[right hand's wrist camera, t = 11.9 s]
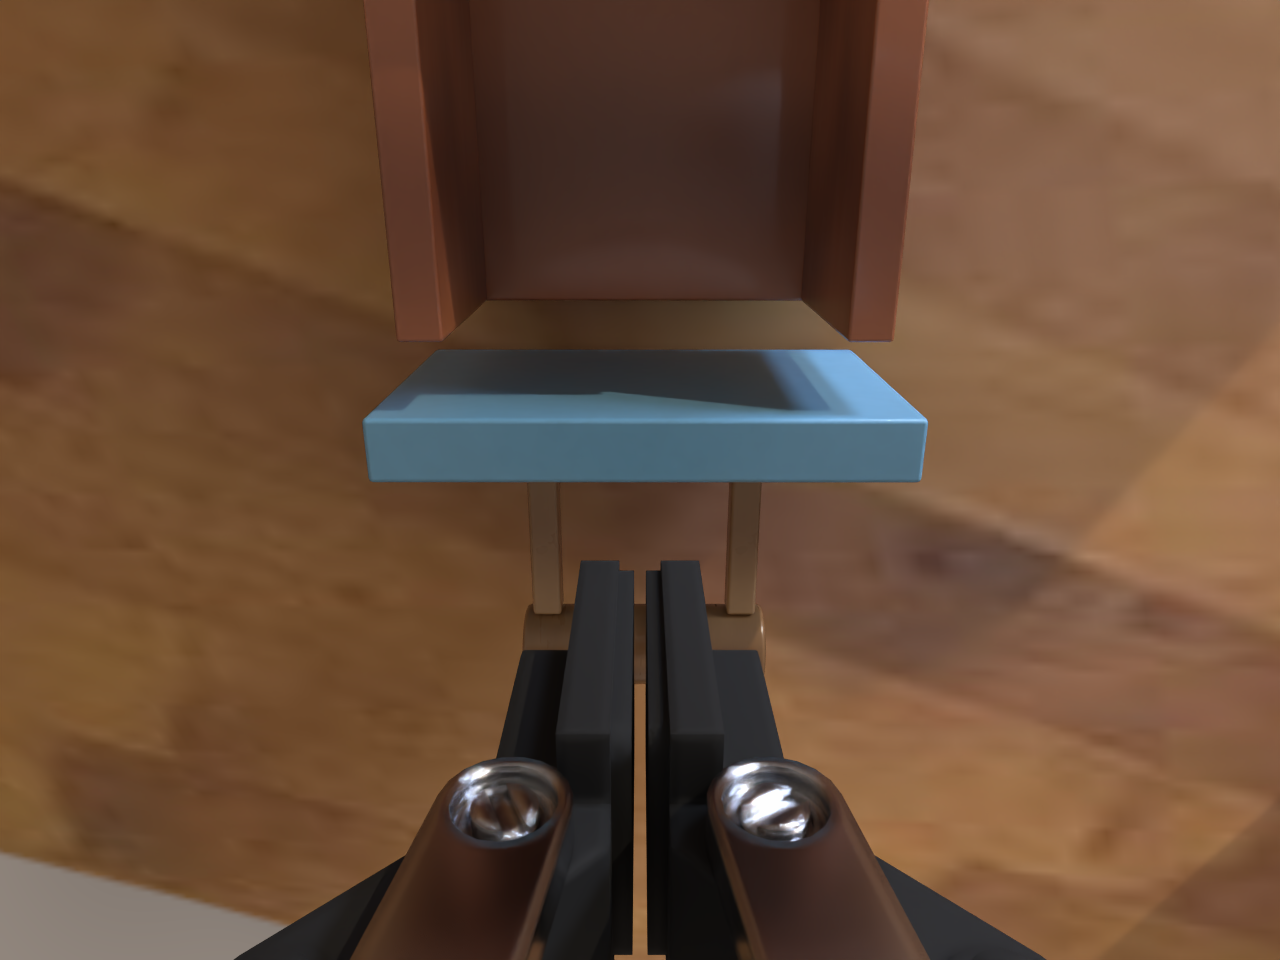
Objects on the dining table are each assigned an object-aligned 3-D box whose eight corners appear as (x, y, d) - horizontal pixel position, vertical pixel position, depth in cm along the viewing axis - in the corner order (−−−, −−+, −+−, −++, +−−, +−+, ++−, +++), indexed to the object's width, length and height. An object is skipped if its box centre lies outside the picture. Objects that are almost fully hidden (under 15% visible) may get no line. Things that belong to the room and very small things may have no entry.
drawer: (830, 594, 23) (891, 734, 17) (456, 594, 23) (396, 734, 17) (952, -804, 14) (1158, -1438, 8) (339, -804, 14) (141, -1439, 8)
